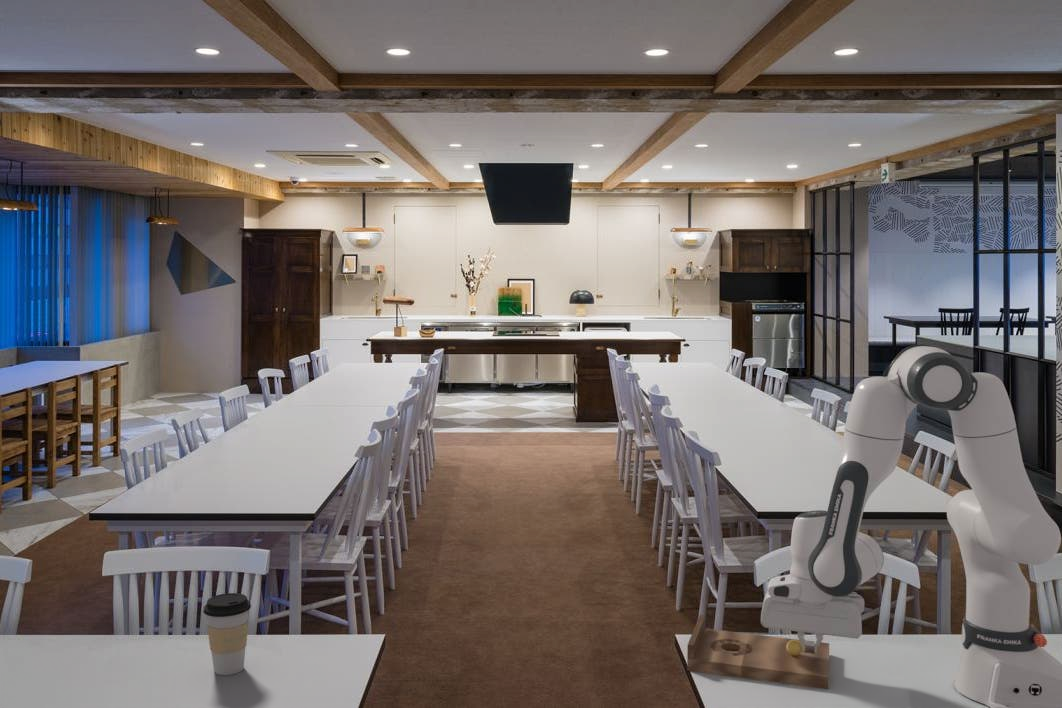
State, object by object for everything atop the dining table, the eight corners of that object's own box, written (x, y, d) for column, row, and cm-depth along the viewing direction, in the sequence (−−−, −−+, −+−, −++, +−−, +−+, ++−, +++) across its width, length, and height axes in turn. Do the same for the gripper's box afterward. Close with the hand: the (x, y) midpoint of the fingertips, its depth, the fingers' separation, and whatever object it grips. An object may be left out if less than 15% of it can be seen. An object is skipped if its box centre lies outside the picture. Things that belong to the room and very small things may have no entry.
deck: (829, 654, 197) (829, 629, 196) (828, 689, 180) (829, 662, 179) (699, 638, 206) (699, 615, 205) (687, 670, 189) (687, 644, 188)
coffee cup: (233, 681, 183) (231, 609, 182) (194, 675, 186) (192, 604, 185) (261, 663, 192) (260, 594, 191) (224, 657, 195) (222, 589, 194)
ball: (802, 653, 191) (802, 638, 191) (801, 659, 188) (802, 644, 188) (786, 651, 192) (786, 636, 192) (785, 657, 189) (786, 642, 189)
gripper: (864, 588, 188) (862, 653, 189) (763, 577, 194) (761, 640, 196) (865, 598, 182) (863, 665, 183) (760, 587, 189) (759, 651, 190)
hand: (809, 652), depth 189 cm, fingers closed
